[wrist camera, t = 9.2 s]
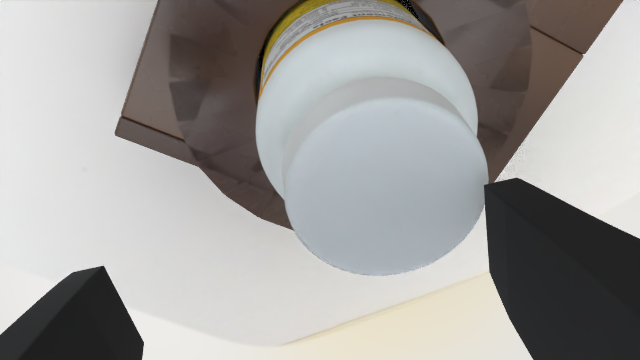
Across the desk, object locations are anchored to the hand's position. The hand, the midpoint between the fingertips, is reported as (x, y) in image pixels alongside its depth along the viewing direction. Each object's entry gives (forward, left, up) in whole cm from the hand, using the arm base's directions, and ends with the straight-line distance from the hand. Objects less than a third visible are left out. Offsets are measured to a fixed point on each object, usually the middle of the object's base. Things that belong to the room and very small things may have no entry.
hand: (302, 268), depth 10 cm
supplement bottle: (+1, -2, -10) cm, 11 cm away
